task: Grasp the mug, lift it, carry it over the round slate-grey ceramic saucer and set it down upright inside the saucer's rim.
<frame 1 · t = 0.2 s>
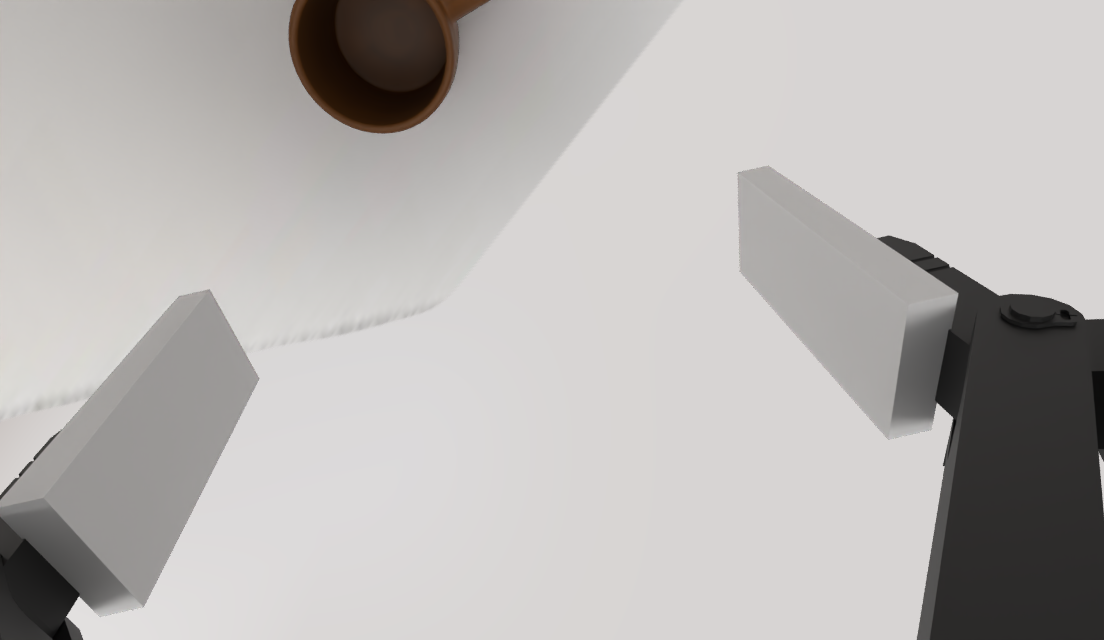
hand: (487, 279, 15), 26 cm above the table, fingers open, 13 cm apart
mug: (425, 11, 35), on the table
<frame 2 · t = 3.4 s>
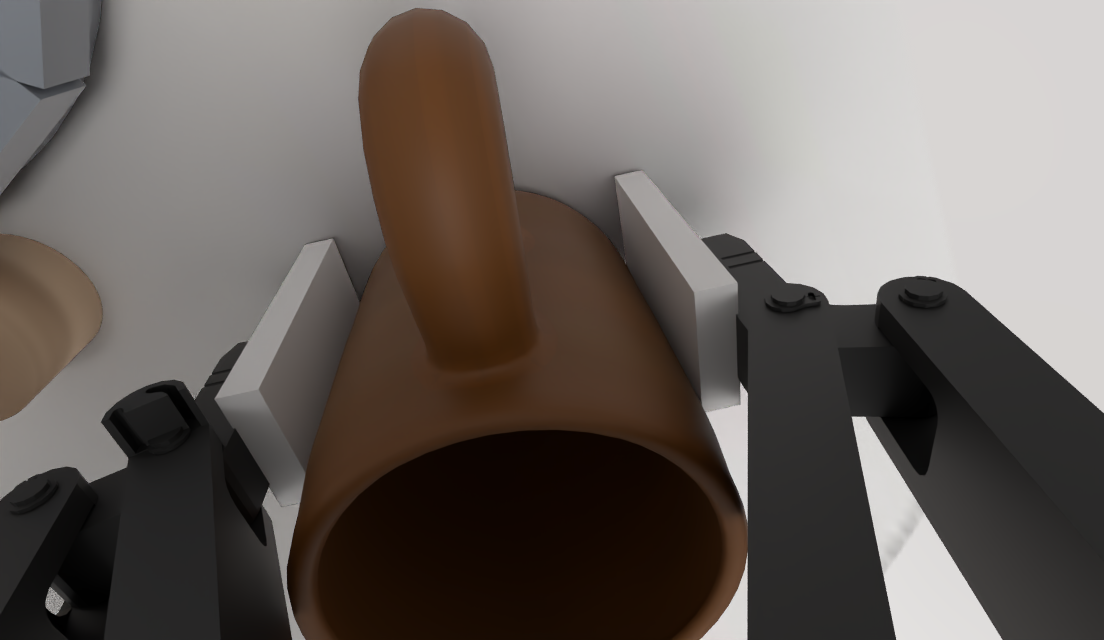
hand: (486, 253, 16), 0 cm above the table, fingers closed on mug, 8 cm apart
bead b: (25, 297, 16), on the table
mug: (487, 234, 17), on the table, touching gripper
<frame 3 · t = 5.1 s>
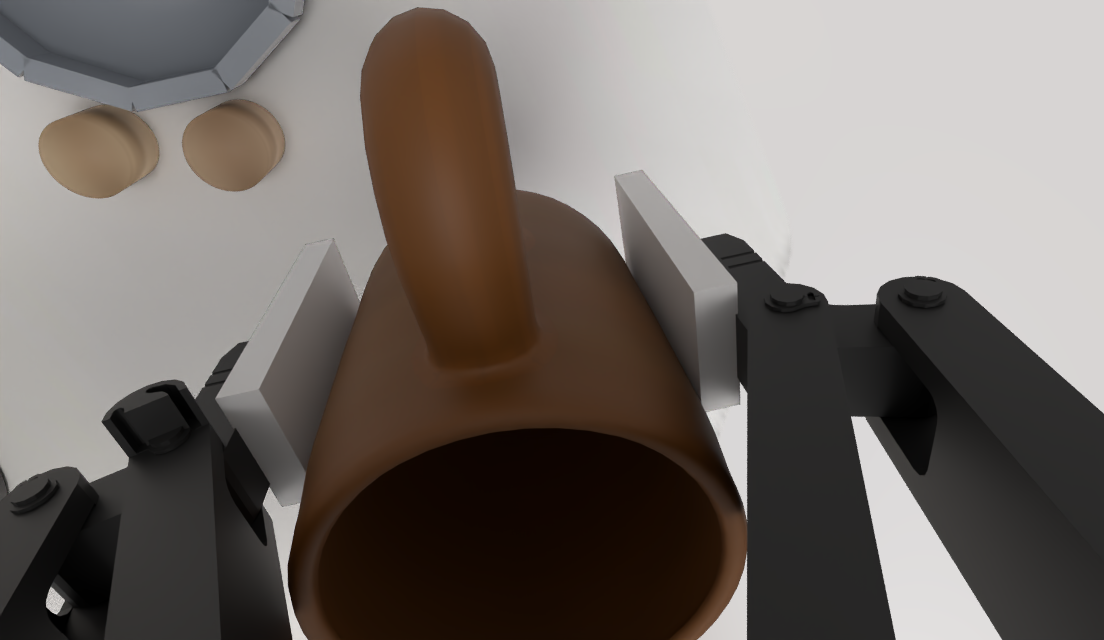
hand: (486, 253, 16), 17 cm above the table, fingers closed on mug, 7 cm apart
bead b: (247, 137, 30), on the table
bead a: (119, 142, 29), on the table
mug: (487, 234, 17), point 16 cm above the table, touching gripper
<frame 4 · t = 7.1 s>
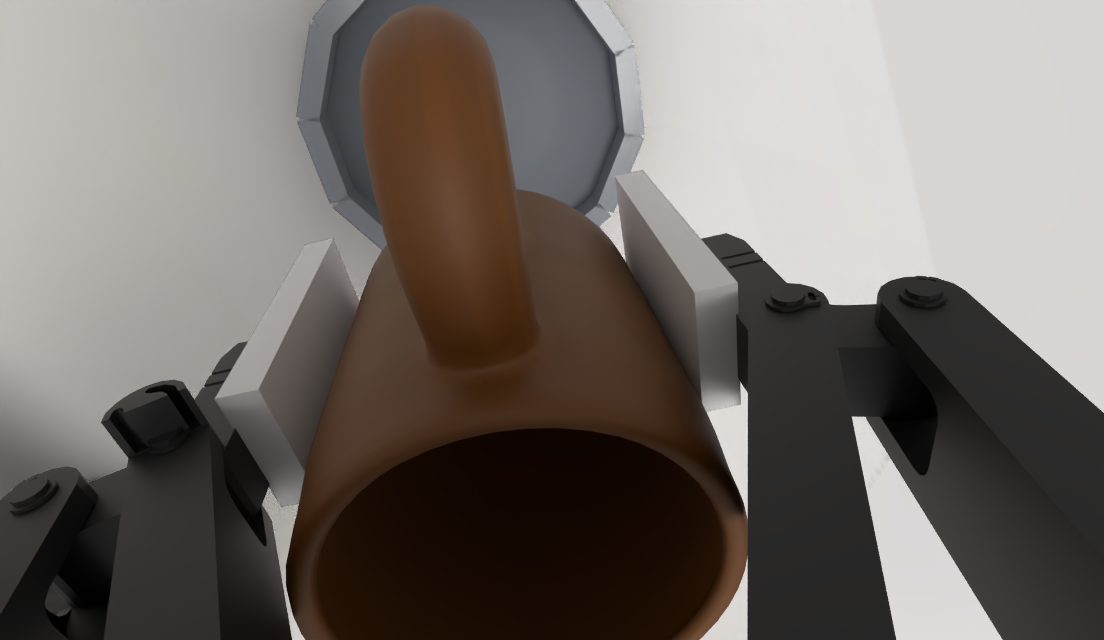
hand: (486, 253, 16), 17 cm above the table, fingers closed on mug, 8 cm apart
saucer: (476, 117, 31), on the table
mug: (487, 233, 17), point 17 cm above the table, touching gripper
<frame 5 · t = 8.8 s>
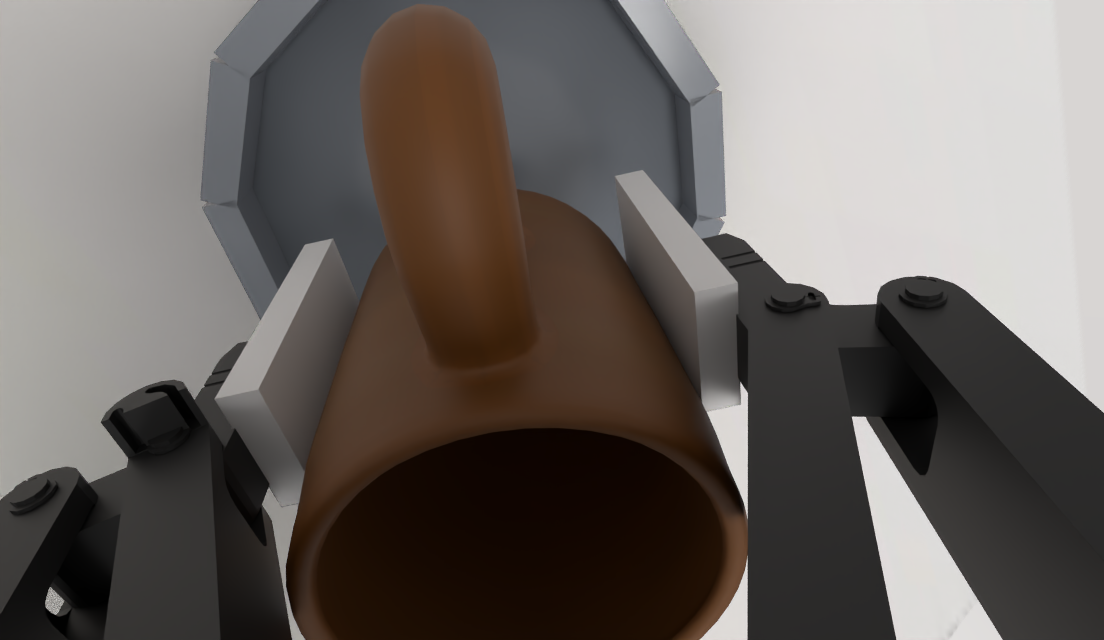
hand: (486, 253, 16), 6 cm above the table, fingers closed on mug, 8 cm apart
saucer: (478, 188, 21), on the table
mug: (487, 233, 17), point 5 cm above the table, touching gripper
when the fingers open (2 cm above the table, at t = 10.5 s): mug moves 1 cm, resting on saucer.
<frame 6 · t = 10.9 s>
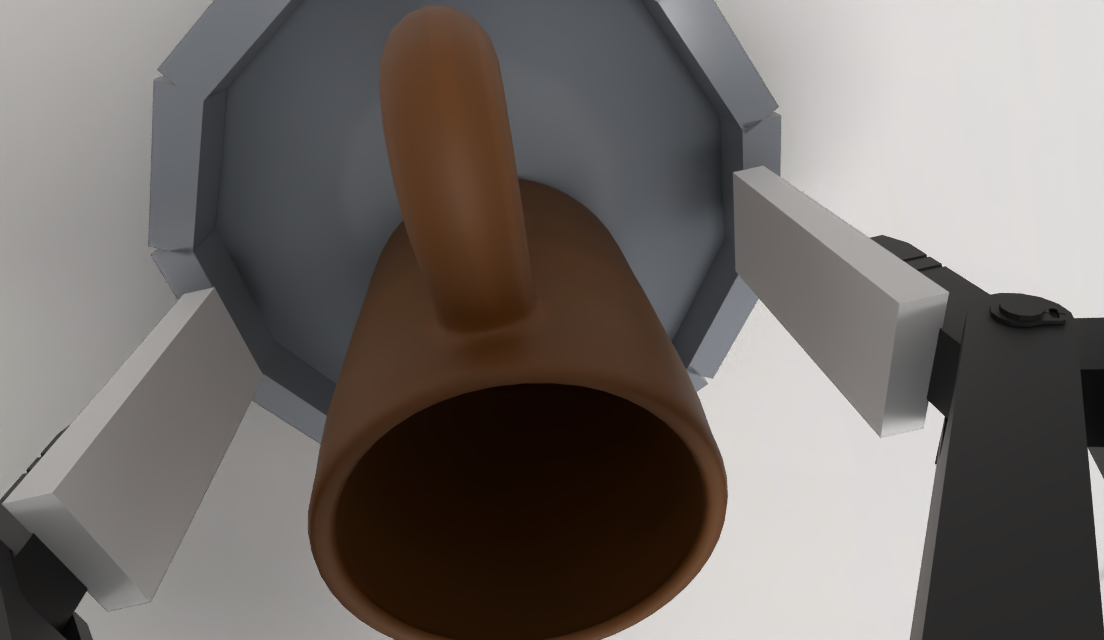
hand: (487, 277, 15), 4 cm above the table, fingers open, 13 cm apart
saucer: (484, 224, 18), on the table
mug: (489, 220, 17), point 1 cm above the table, touching saucer
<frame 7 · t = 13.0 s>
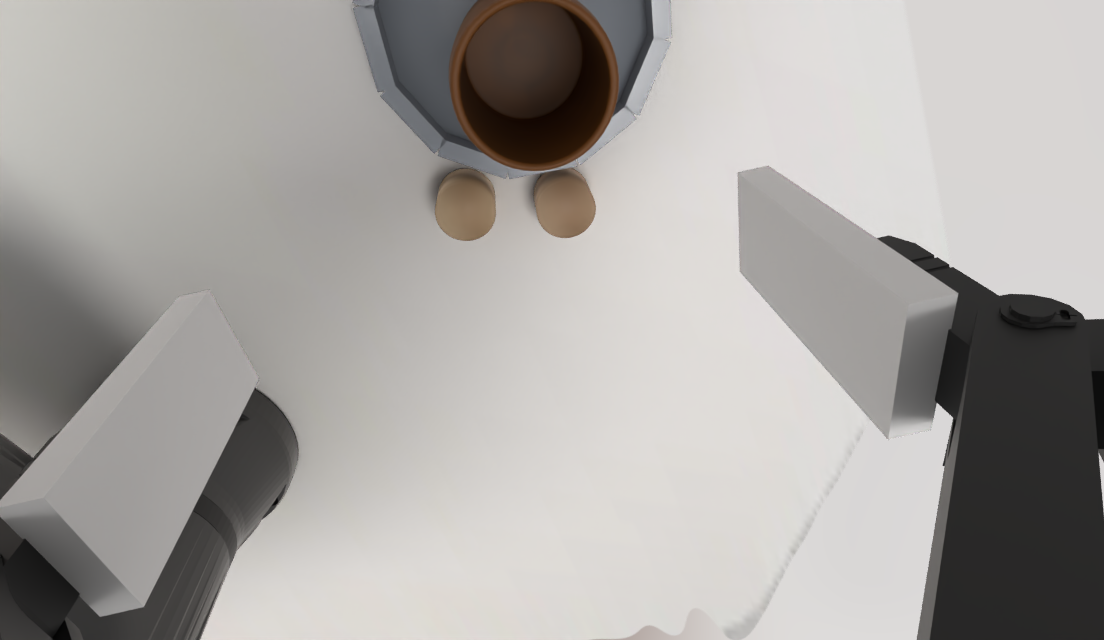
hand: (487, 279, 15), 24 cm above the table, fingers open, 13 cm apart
saucer: (515, 19, 33), on the table
bead b: (561, 193, 39), on the table
bead a: (466, 195, 38), on the table
mug: (519, 13, 33), point 1 cm above the table, touching saucer
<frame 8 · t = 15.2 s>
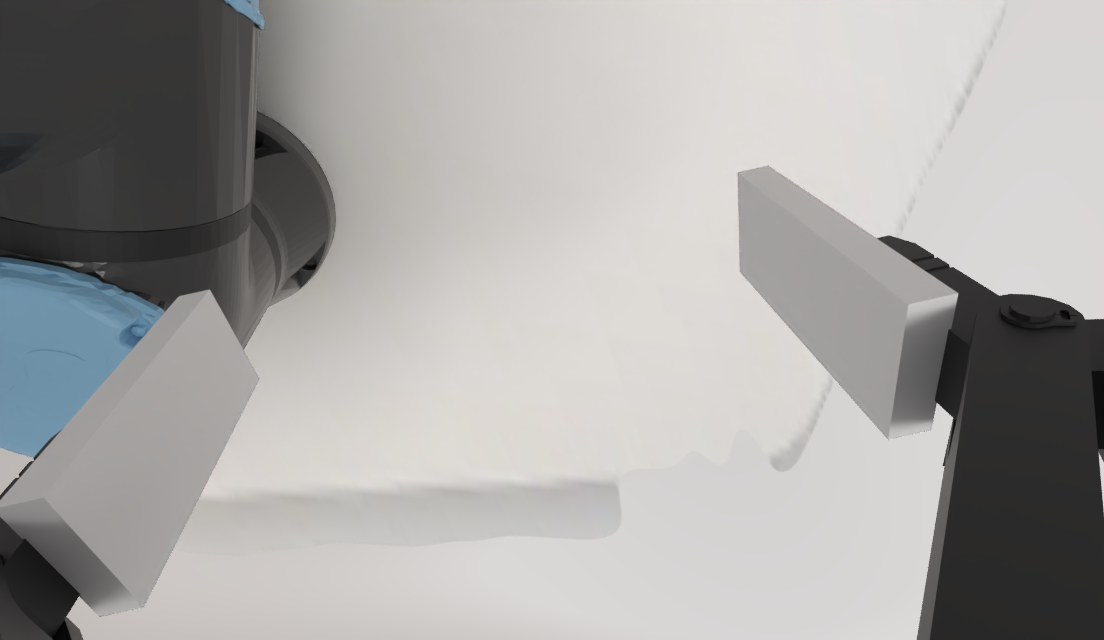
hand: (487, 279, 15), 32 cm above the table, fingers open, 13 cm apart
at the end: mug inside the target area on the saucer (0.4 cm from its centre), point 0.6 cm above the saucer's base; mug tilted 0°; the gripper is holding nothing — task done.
